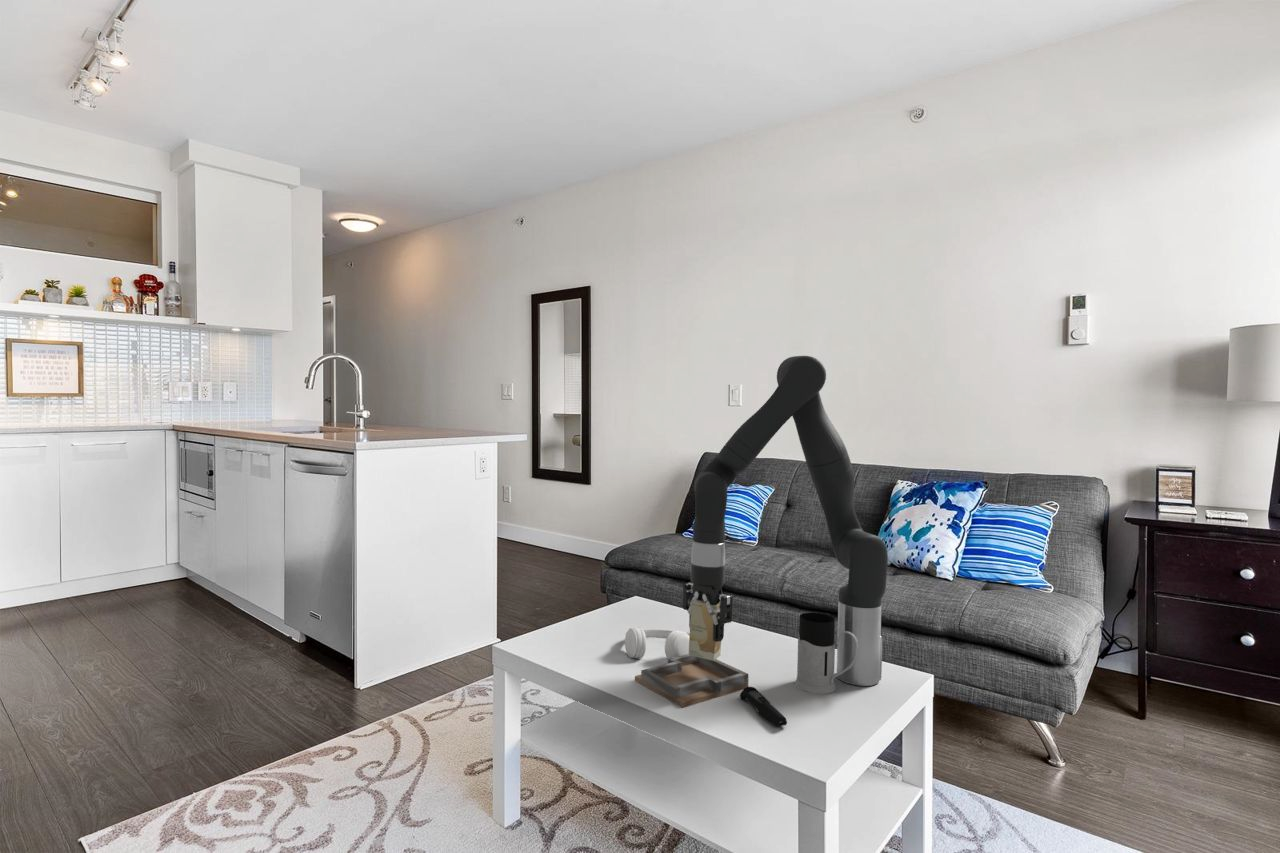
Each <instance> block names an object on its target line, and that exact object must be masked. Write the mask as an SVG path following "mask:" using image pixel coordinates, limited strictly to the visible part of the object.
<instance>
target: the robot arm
mask: <svg viewBox="0 0 1280 853" xmlns="http://www.w3.org/2000/svg"><path fill="white" fill-rule="evenodd" d="M826 380H827V371H826V368H825V366H824V364H823V363H822V361H820V360H819V359H818V358H817V357H814V356H810V355H794V356H790V357H787V358H786V359H784V360H783V361H781V363H780V365H779V367H778V368H777V372H776V383H777V386H776V388H775V390H774V392H773V393H772V394H771V396H770V397H769V398H768V399H767V400H766V401H765V402H764V403H763V405H762V406H761V407H760V408H759V409H758V410H756V412H755V413H753V414H752V415H751V416H750V417H749V418H747V420H745V421H744V422H743V423H742V424H741V426H740V427H739V428H737V429H736V431H735V432H734V433H733V434H732V436H730V437H729V439H728V440H727V442H725V444H724V445H723V447H722V448H721V449H720V451H719V453H717V455H716V456H715V457H714V458H713V459H711V461H710V462H709V463H708V464H707V465H706V466H705V467H704V468H703V470H702V471H701V472H700V473H699V474H698V475H697V477H696V478H695V480H694V485H693V489H694V494H695V495H694V496H695V499H694V500H695V501H694V502H695V504H694V509H695V514H694V515H695V517H694V519H693V520H694V521H693V524H692V525H693V526H692V529H693V530H692V546H691V553H690V554H691V556H690V582H686V583H683V585H682V586H683V587H682V609H683V610H685V611H687V614H688V616H689V617H688V618H689V621H688V626H689V628H690V618H691V602H692V601H693V600H700V601H703V602H705V603H706V606H707V609H708V612H709V614H710V615H711V616H712V618H713V621H714V625H713V640H714V641H715V642H718V641H721V642H722V641H723V639H724V637H725V624H729V623H732V619H733V600H734V599H733V598H734V597H733V595H732V594H728V595H727V594H724V593H723V589H722V587H723V585H724V584H725V583H726V582H725V581H726V579H725V577H726V546H725V544H726V543H725V540H726V539H725V538H726V523H725V522H726V520H725V518H726V511H727V504H728V502H727V501H728V488H729V487H730V486H731V485H732V483H734V481H735V480H736V479H737V477H738V476H739V475H740V474H742V473H744V472H745V471H746V470H747V469H748V468H749V467H750V465H751V464H752V463H753V462H754V460H755V459H756V458H758V455H759V454H760V453H761V452H762V451H763V449H764V448H765V447H766V446H767V445H768V444H769V442H770V441H771V440H772V438H773V437H774V436H776V434H777V433H778V431H780V430H781V428H782V427H783V426H784V425H785V424H786V423H787V422H788V421H789V419H791V418H792V419H793V421H794V423H795V424H794V425H795V427H796V431H797V436H798V439H799V443H800V446H801V449H802V452H803V456H804V460H805V463H806V466H807V468H808V472H809V474H810V475H809V476H810V477H811V480H812V482H813V485H814V487H815V488H814V489H815V491H816V495H817V497H818V499H819V502H820V506H821V508H822V511H823V513H824V516H825V521H826V525H827V529H828V533H829V538H830V542H831V546H832V551H833V554H834V557H835V558H836V561H837V562H838V563H839V564H840V565H841V566H843V567H844V568H846V569H848V579H847V580H848V581H847V584H846V585H843V586H841V587H840V588H839V590H838V604H837V607H838V608H837V609H838V610H837V638H838V637H839V635H840V634H841V633H842V632H845V631H848V632H851V633H852V634H854V636H855V637H856V638H857V641H858V653H857V657H856V659H855V661H854V663H853V665H852V667H851V668H849V669H848V670H847V671H845V672H844V673H842V674H840V675H838V676H837V677H836V678H838V680H841V681H842V682H844V683H846V684H851V685H854V686H862V687H868V686H869V687H870V686H875V685H878V684H879V683H880V679H882V672H883V671H882V669H883V667H882V666H883V665H882V664H883V636H881V632H882V629H881V628H882V600H883V597H884V594H885V592H886V587H887V578H888V564H889V562H888V561H889V556H888V548H887V546H886V543H885V541H884V540H883V539H882V538H881V537H879V536H877V535H876V534H873V533H869V532H866V531H864V529H863V528H862V526H861V523H860V521H859V519H858V515H857V513H856V510H855V506H854V492H855V472H854V468H853V464H852V462H851V459H850V456H849V453H848V449H847V447H846V445H845V444H844V441H843V439H842V437H841V436H840V434H839V432H838V430H837V429H836V428H835V426H834V424H833V423H832V421H831V419H830V418H829V416H828V414H827V412H826V409H825V408H824V405H823V402H822V397H821V395H820V391H821V390H822V389H823V388H824V386H825V383H826ZM716 604H720V608H719V609H717V610H715V609H713V607H712V605H716ZM716 613H718V614H719V619H718V617H717V614H716ZM836 643H837V645H838V639H837V642H836ZM854 654H855V641H854V638H853V637H852V636H851V635H849V634H847V633H845V634H843V635H842V637H841V641H840V647H839V648H837V649H836V674H838V673H840V672H841V671H843V670H844V669H846V668H847V667H848V666H849V665H850V663H851V662H852V660H853V658H854Z"/></svg>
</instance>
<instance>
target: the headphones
mask: <svg viewBox="0 0 1280 853" xmlns="http://www.w3.org/2000/svg"><path fill="white" fill-rule="evenodd" d="M689 636H690V632H685V631H680V630H670V629H654V628H653V629H650V628H648V629H647V628H645V629H643V628H642V627H641V626H640V627H630V628H629V629H628V630H627V631H626V632H625V639H624V648H625V650H626V651H625V652H626V653H627V655H628V657H629V658H630V659H643V657H644V656H645V654H646V650H647V638H665V637H667V638H665V642H664V652H665V653H664V654H665V656H666V658H667V660H668V659H670V658H674V657H678V656H682V655H686V654H689Z"/></svg>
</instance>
